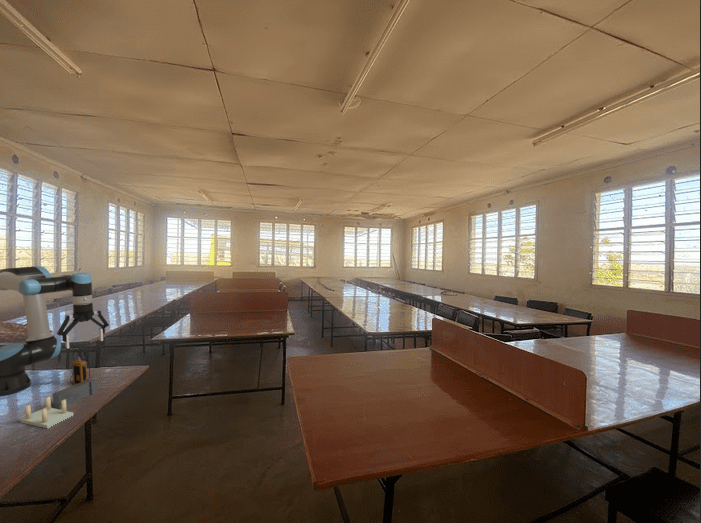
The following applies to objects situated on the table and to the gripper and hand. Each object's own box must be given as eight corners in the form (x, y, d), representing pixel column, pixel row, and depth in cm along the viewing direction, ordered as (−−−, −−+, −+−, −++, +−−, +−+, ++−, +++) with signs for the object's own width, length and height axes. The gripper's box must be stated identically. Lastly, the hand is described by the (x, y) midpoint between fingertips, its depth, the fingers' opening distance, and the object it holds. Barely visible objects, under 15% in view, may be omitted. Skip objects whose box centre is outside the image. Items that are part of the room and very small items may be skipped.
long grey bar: (60, 409, 147) (59, 395, 146) (52, 407, 148) (51, 393, 147) (97, 392, 163) (97, 379, 162) (90, 390, 164) (89, 377, 164)
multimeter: (106, 379, 177) (104, 345, 175) (86, 387, 167) (84, 352, 166) (89, 375, 182) (87, 342, 180) (69, 383, 172) (66, 348, 171)
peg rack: (19, 422, 136) (18, 406, 136) (46, 409, 146) (45, 394, 145) (47, 428, 132) (46, 412, 132) (73, 415, 142) (72, 400, 141)
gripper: (51, 309, 144) (54, 353, 146) (115, 300, 164) (116, 339, 166) (47, 306, 148) (49, 349, 150) (109, 298, 169) (111, 336, 171)
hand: (84, 344), depth 158 cm, fingers open, 13 cm apart
